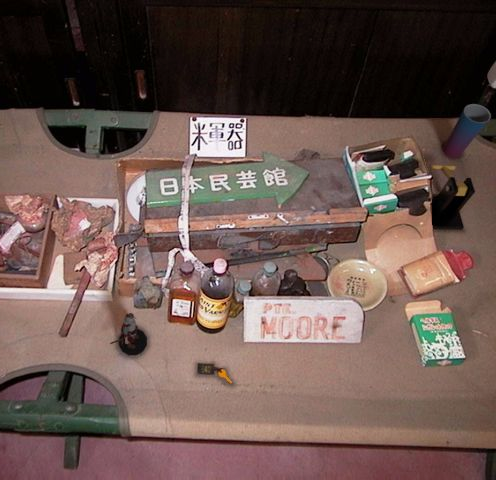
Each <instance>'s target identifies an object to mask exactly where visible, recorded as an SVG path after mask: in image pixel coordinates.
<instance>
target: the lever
mask: <svg viewBox="0 0 496 480" xmlns="http://www.w3.org/2000/svg"><path fill="white" fill-rule="evenodd" d="M456 167H457V166H456V165H455V164H453V165H451V164H431V165H430V170H438V171H439V170H441V172H442V173H443V174H444V176H445V177H446V179H447V181H448V180H449V179H450V177H454V178H455V181H456V184H457V188H458V193H457V194H456V195H455V196H465V193H466V191H467V188H468V187H467V186H466V185H465V184H464V181H458V179H457V178H456V177H455V176H454V175H453V173H452V171H455V170H456Z"/></svg>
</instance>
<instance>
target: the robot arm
mask: <svg viewBox="0 0 496 480" xmlns="http://www.w3.org/2000/svg"><path fill="white" fill-rule="evenodd" d="M487 80H488V83H489V85H490V87H491V88H493V89H496V61H494V63H493V64H492V66H491V67H490V68H489V70H488V72H487Z"/></svg>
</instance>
